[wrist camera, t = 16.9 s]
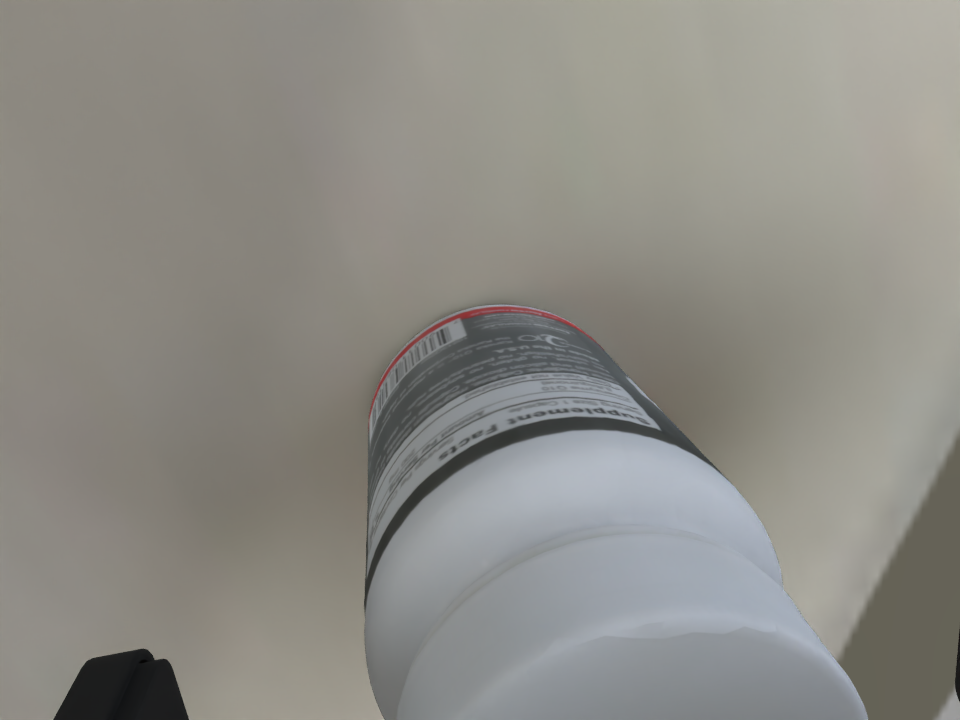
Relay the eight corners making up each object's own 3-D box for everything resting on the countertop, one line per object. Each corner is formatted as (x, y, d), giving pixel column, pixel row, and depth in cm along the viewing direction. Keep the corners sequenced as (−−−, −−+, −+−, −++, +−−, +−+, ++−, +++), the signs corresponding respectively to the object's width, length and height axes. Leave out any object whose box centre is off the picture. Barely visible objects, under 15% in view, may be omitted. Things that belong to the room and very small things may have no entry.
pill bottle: (622, 512, 15) (901, 964, 7) (386, 550, 14) (404, 1077, 7) (614, 281, 13) (963, 532, 5) (349, 315, 13) (315, 642, 5)
